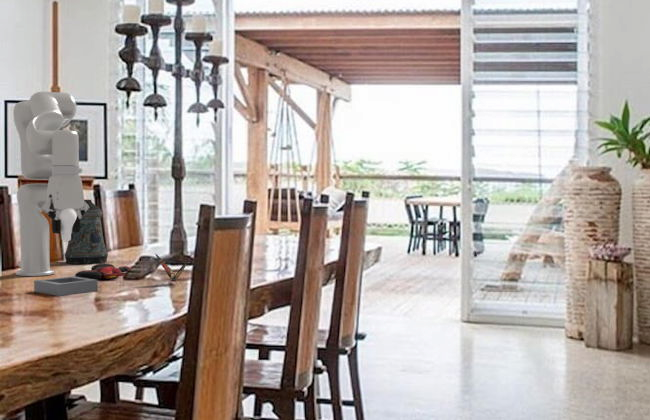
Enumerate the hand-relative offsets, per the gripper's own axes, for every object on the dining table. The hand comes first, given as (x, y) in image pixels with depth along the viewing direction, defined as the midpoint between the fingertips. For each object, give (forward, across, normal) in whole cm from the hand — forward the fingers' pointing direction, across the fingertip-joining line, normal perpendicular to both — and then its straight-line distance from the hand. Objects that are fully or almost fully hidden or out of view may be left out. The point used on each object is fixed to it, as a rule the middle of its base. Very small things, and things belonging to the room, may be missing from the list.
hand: (66, 232), depth 226 cm
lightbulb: (+3, 0, 0) cm, 3 cm away
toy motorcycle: (+18, -27, -18) cm, 37 cm away
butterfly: (+18, -30, +13) cm, 37 cm away
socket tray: (+18, 0, 0) cm, 18 cm away
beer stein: (+18, -48, -64) cm, 82 cm away
